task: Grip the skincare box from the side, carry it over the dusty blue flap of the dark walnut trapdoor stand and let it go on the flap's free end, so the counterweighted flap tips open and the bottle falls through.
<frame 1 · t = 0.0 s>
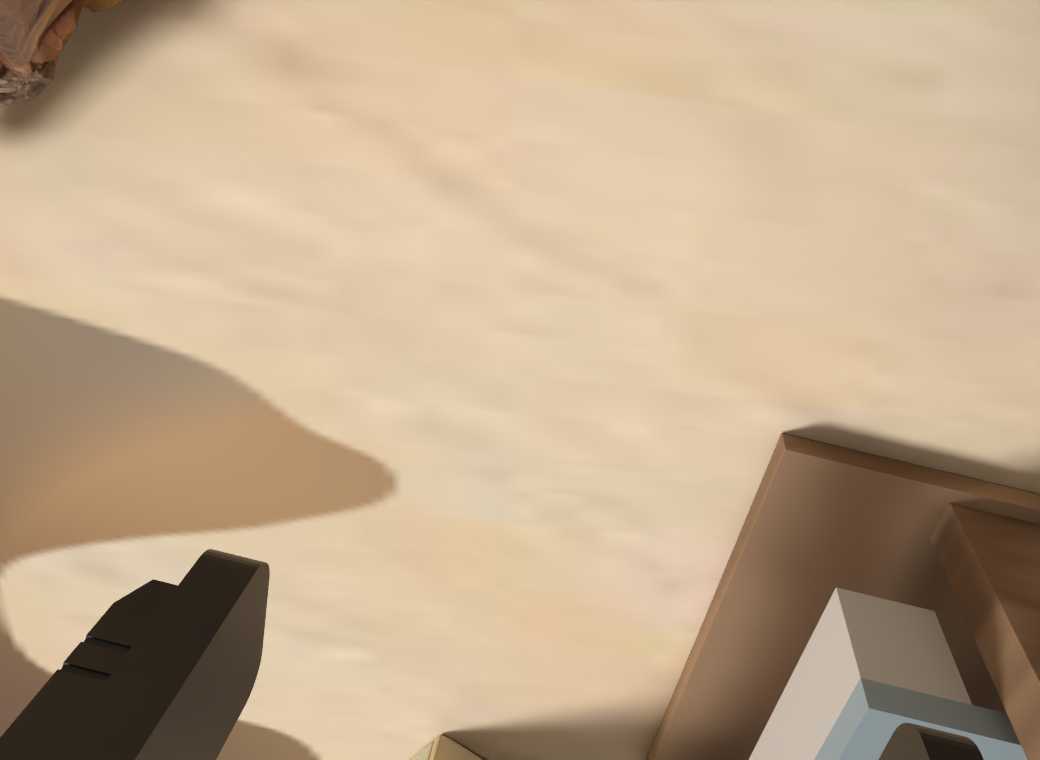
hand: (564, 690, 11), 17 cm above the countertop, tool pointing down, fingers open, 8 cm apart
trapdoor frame: (888, 663, 32), on the countertop
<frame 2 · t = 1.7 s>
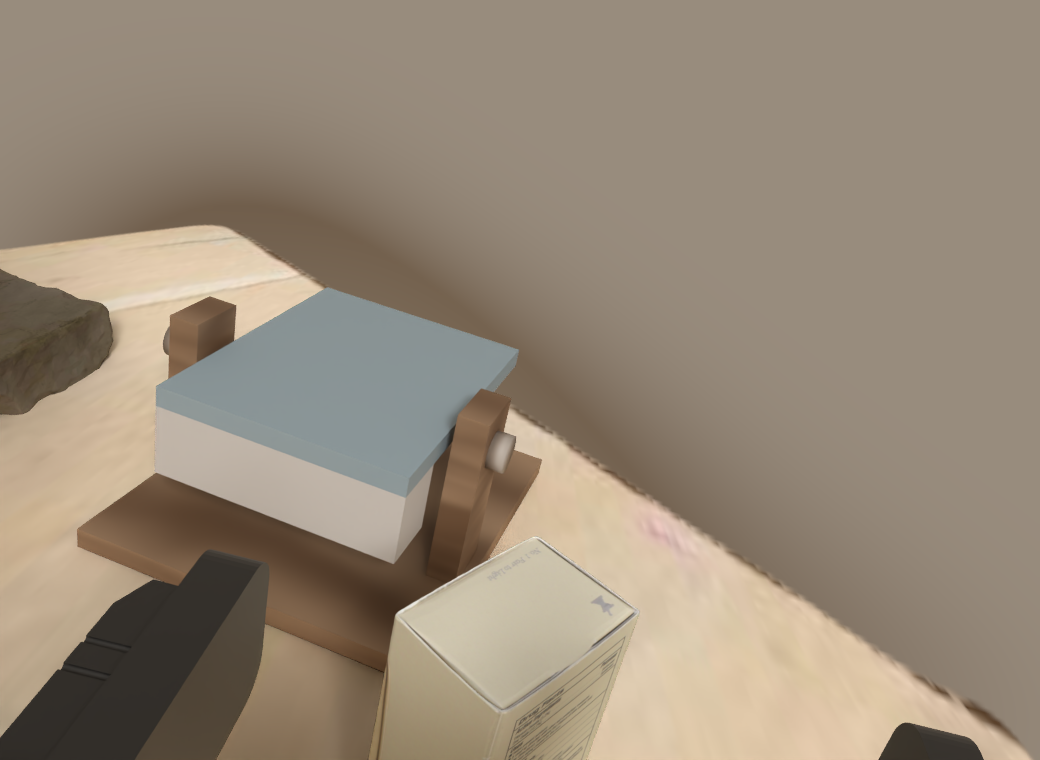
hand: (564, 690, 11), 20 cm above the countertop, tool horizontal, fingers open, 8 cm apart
trapdoor flap: (355, 404, 44), point 6 cm above the countertop, hinge at 0.0°
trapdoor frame: (318, 528, 44), on the countertop
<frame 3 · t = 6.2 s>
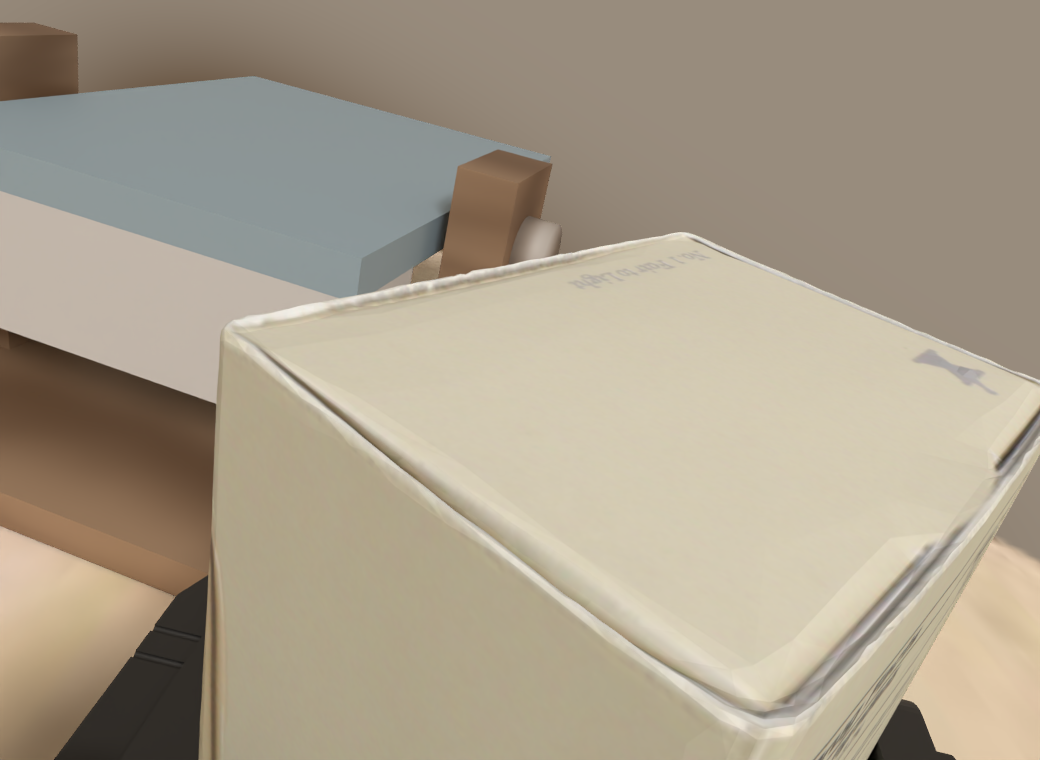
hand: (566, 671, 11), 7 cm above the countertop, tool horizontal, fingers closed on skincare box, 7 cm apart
trapdoor flap: (285, 213, 26), point 6 cm above the countertop, hinge at 0.0°
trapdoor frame: (225, 424, 27), on the countertop
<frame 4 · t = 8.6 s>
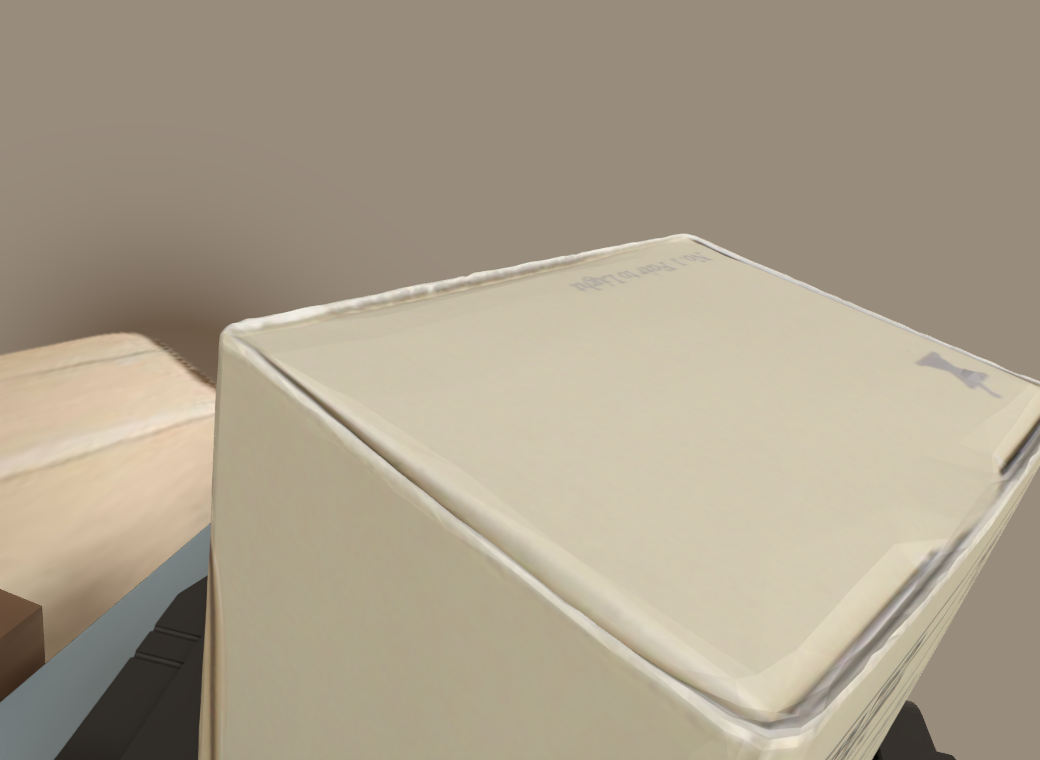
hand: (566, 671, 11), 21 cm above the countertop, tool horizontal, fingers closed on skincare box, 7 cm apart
trapdoor flap: (258, 758, 25), point 6 cm above the countertop, hinge at 0.0°
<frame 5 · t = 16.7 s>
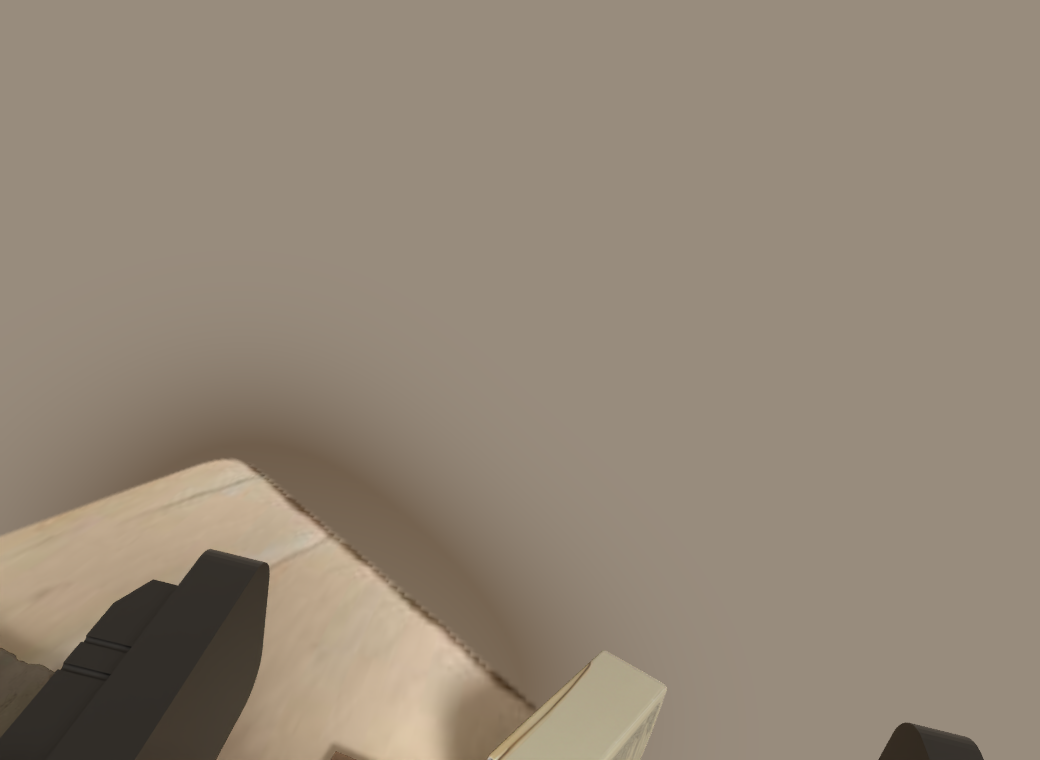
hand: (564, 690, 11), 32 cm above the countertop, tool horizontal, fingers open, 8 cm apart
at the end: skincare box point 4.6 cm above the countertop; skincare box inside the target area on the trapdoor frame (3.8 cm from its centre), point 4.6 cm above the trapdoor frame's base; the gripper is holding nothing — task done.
